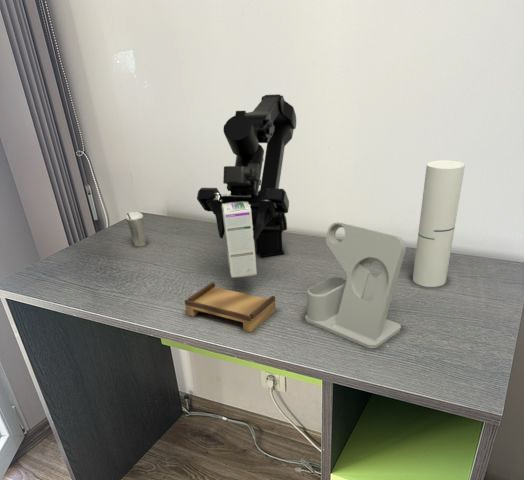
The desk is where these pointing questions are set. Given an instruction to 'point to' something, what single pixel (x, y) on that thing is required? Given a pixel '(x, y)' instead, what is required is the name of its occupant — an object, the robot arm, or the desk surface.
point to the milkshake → (136, 228)
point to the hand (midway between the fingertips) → (237, 238)
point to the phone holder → (358, 287)
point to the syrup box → (239, 238)
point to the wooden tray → (231, 306)
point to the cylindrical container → (437, 221)
